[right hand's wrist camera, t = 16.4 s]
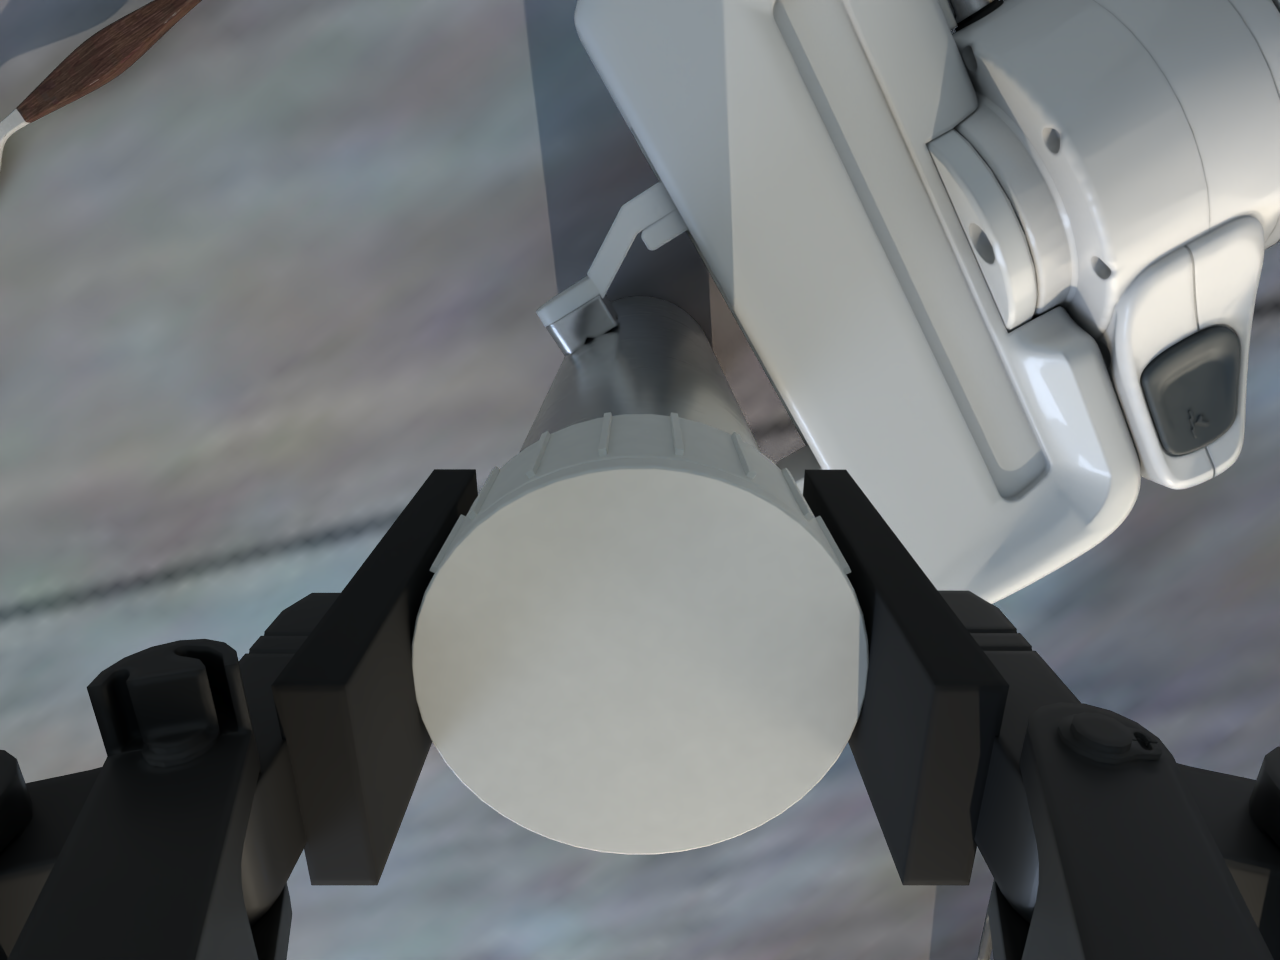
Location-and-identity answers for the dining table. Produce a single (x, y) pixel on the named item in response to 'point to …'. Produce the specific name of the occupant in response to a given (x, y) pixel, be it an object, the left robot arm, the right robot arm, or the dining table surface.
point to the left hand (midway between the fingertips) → (615, 430)
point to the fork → (97, 61)
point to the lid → (640, 639)
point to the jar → (643, 374)
